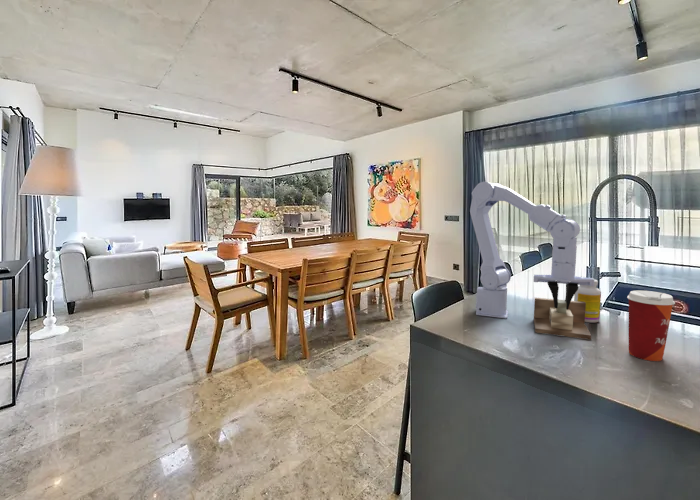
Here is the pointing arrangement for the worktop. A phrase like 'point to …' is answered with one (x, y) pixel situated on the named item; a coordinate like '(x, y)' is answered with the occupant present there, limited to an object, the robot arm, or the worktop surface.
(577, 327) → the cleat board
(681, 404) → the worktop surface
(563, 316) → the saddle block
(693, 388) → the worktop surface
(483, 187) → the robot arm
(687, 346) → the worktop surface
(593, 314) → the supplement bottle
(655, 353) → the coffee cup
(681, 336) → the worktop surface
